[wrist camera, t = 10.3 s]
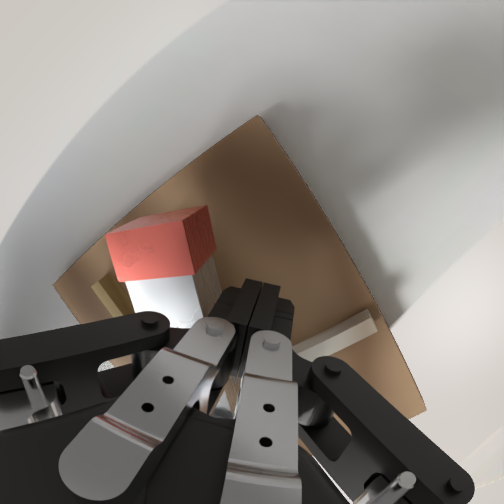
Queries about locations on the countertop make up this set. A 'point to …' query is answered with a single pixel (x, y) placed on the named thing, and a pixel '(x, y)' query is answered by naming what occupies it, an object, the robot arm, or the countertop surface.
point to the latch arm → (172, 273)
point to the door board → (264, 260)
